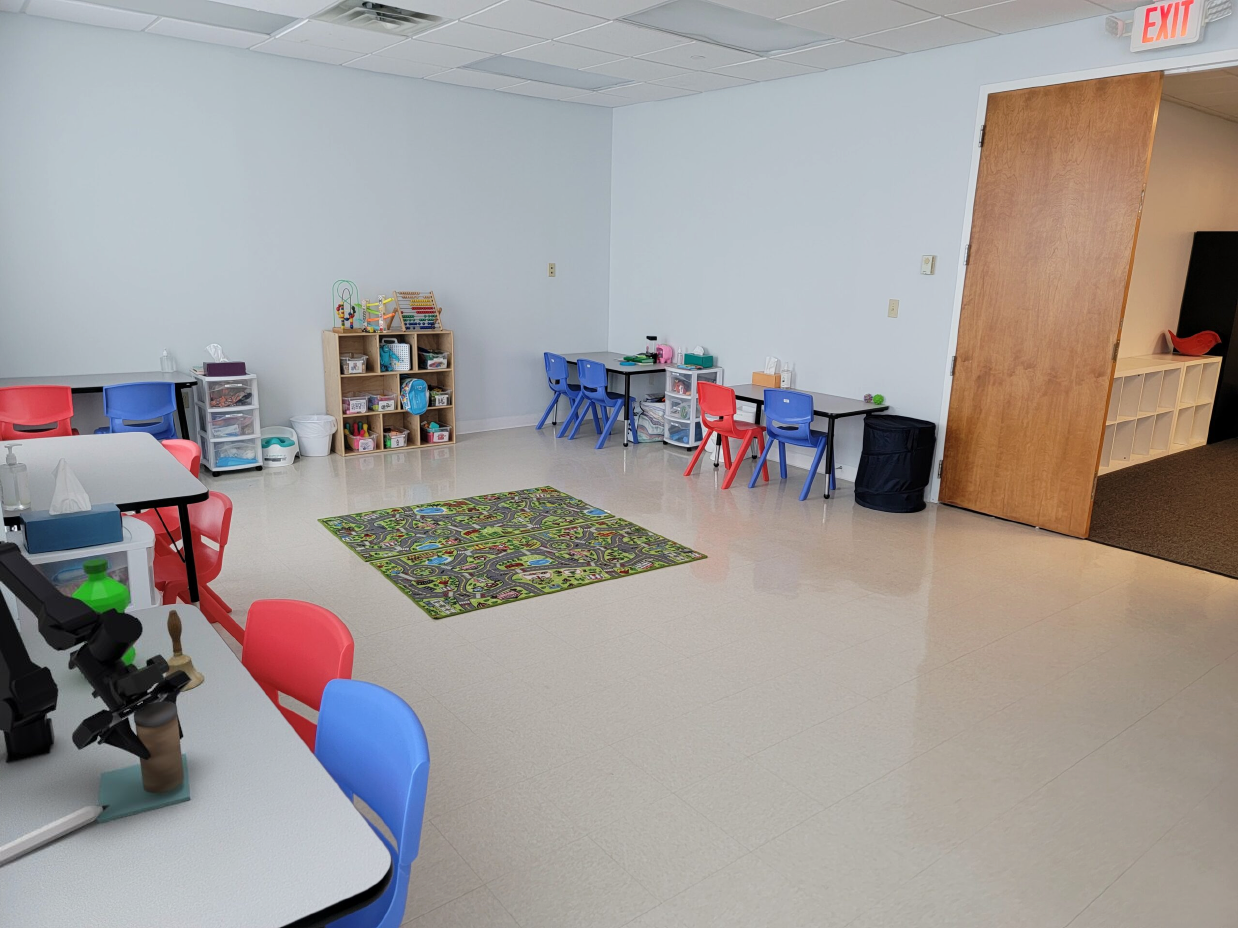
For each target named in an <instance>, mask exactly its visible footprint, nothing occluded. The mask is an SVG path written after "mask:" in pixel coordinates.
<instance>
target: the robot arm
mask: <svg viewBox="0 0 1238 928" xmlns="http://www.w3.org/2000/svg"><path fill="white" fill-rule="evenodd" d="M0 583H2V584H3V585H4V586H5V588H7V589H8V590H9V591H10V592H11V593H12V594H13V595H14V596H15V597H16V598H17V599H18V600H19V602H21V603H22V604H23V605H24V606H26V608H27V609H28V610H29V611H30V612H31V613H32V614H33V615H34V616H35V618H36V619H37V628H38V629H37V630H38V633H39V634H40V635H41V636H42V638H43V639H44V641H45V643H46V644H47V645H48V646H49V647H51V648H52V649H53V650H55V651H57V652H59V651H62V652H63V651H64V652H65V651H67V650H69V649H72V648H73V647H75V646H78V645H80V644H82V645H81V646H80V648H78V649H76V650H74V651H72V652H69V660H68V665H67V667H68V669H69V670H71V671H72V670H74V669H76V668H77V669H78V671H79V672H80V673H81V674H82V675H83V677H84V679H85V680H86V681H87V682H88V683H89V685H90V686H91V687H92V689H93V691H92V692H91V694H90V695H91V696H92V697H93V698H94V699H98V698H100V699H101V700H102V702H103V703H104V704H105V705H106V707H107V708H108V709H104V708H103V709H101V710H98V712H95V713H93V714H92V715H90V716H88V717H87V718H85V719H83V720H82V721H81V723H80V724H78V726H77V727H76V729H75V730H74V731H73V732H72V734H71V739H72V743H73V744H74V746H75V747H76V748H77V749H78V750H80V751H81V750H83V749H85V748H86V747H88V746H90V745H92V744H94V743H95V742H97V745H98V746H101V745H102V744H105V745H108V746H111V747H114V748H118V749H120V750H123V751H126V752H128V753H130V754H132V755H134V756H136V757H139V758H140V757H141V758H143V759H145V760H148V759H149V758H150V757H151V755H150V753H149V751H148V750H147V748H146V747H145V745H144V744H143V743H142V742H141V740H140V739H139V738H138V737H137V733H135V732H134V730H133V729H132V726H131V723H130V719H129V717H130V716H131V715H134V713H135V711H136V710H138V709H139V708H141V707H143V706H145V705H147V704H150V703H154V702H161V701H168V702H173V703H175V704H176V705H177V700H178V699H177V698H178V696H179V695H180V693H182V692H183V691H182V690H183V689H184V688H185V687H186V686H187V685H188V684H189V682H190V681H191V680H192V679H191V678H190V677H189V675H188V674H187V673H186V672H185V671H181V670H178V671H176V672H174V673H172V674H170V675H168V676H166V675H164V674H166V672H168V671H169V669H170V667H169V665H168V663H167V661H168V660H166V659H165V658H164V657H163V655H162V654H160V653H159V654H157V655H155V656H152V657H150V658H147V659H146V662H145V663H146V665H145V666H143V667H141V668H138V667H137V666H136V665H135V664H133V663H132V664H130V665H128V666H127V665H126V663H125V662H124V661H123V659H122V657H123V656H125V655H126V653H127V652H128V651H129V650H130V648H131V647H132V646H133V647H134V645H135V644H136V643H137V641H138V640H140V637H142V635H143V632H144V631H143V624H142V622H141V620H140V619H139V618H138V617H135V616H134V615H132V614H130V613H127V612H125V613H118V612H117V610H116V609H115V608H111V609H109V610H106V611H104V612H103V613H100V612H97V611H95V610H94V609H93V608H91V607H90V606H88V605H87V604H86V603H84V602H83V601H82V600H80V599H77V598H73V597H72V596H68V595H65V594H64V593H62V592H61V591H60V590H59V589H58V588H57V587H56V586H55V585H54V584H53V583H52V582H51V581H50V580H49V579H48V578H47V577H46V576H45V575H44V574H42V573H41V571H39V569H38V568H37V567H36V566H35V565H33V564H32V563H31V562H30V560H28V558H26V557H25V556H24V555H23V554H22V551H21V548H20V546H19V545H18V544H17V543H15V542H13V541H12V542H11V541H10V542H9V541H6V542H5V541H4V540H0ZM85 641H87V643H86V644H84V642H85ZM165 676H166V677H165ZM154 685H155V686H154ZM153 686H154V687H153ZM149 690H150V691H149ZM148 691H149V692H148ZM58 696H59V688H58V684H57V683H56V681H55V680H54V677H53V675H52V672H51V669H50V668H49V667H47V666H42V667H41V666H40V665H39V664H36V663H35V662H34V661H32V659H31V658H30V655H29V652H28V650H27V648H26V646H25V642H24V641H23V638H22V636H21V634H20V632H19V629H18V627H17V624H16V622H15V619H14V617H13V614H12V612H11V610H10V608H9V605H8V603H7V601H6V599H5V595H4V593H3V591H2V589H1V588H0V731H2V732H3V738H4V744H5V749H6V756H5V763H13V762H16V761H21V760H25V759H31V758H34V757H35V758H36V757H38V756H44V755H47V754H50V753H51V748H52V746H53V745H54V743H55V732H54V726H53V719H52V718H51V717H48V714H49V713H52V712H54V711H56V710H57V706H58V705H57V704H58V698H59V697H58ZM179 717H180V716H179V713H177V719H178V727H179V736H180V741H181V740H182V739H183V738H184V732H183V730H182V725H181V721H180V718H179ZM98 739H99V740H98Z"/></svg>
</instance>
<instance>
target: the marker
mask: <svg viewBox="0 0 1238 928" xmlns="http://www.w3.org/2000/svg"><path fill="white" fill-rule="evenodd" d="M110 805H111V804H110ZM110 805H105V806H99V805H97V806H96V805H95V806H91V805H87V806H85V807H83V808H80V809H78V810H77V811H74V812H72V813H70V814H67V815H66V816H64V817H61V818H59V819H57V820H55V821H53V822H51V823H48V824H46V825H44V826H41V827H39V828H38V829H36V830H34V831H31V832H29V833H27V834H25V835H23V836H20V837H19V838H17V839H15V840H12V841H10V842H8V843H6V844H4V845H1V846H0V866H1V865H4V864H6V863H8V862H11V861H13V860H15V859H18V858H19V857H21V856H23V855H25V854H27V853H29V852H31V851H33V850H35V849H37V848H39V847H42V846H44V845H46V844H48V843H51V842H52V841H55V840H56V839H58V838H60V837H63V836H65V835H66V834H68V833H71V832H73V831H76V830H78V829H79V828H81V827H84V826H85V825H88V824H90V823H91V822H93V821H95V820H96V818H98V815H99V814H100V813H101V812H102V811H104V810H105V809H106V808H108V807H109V806H110Z"/></svg>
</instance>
